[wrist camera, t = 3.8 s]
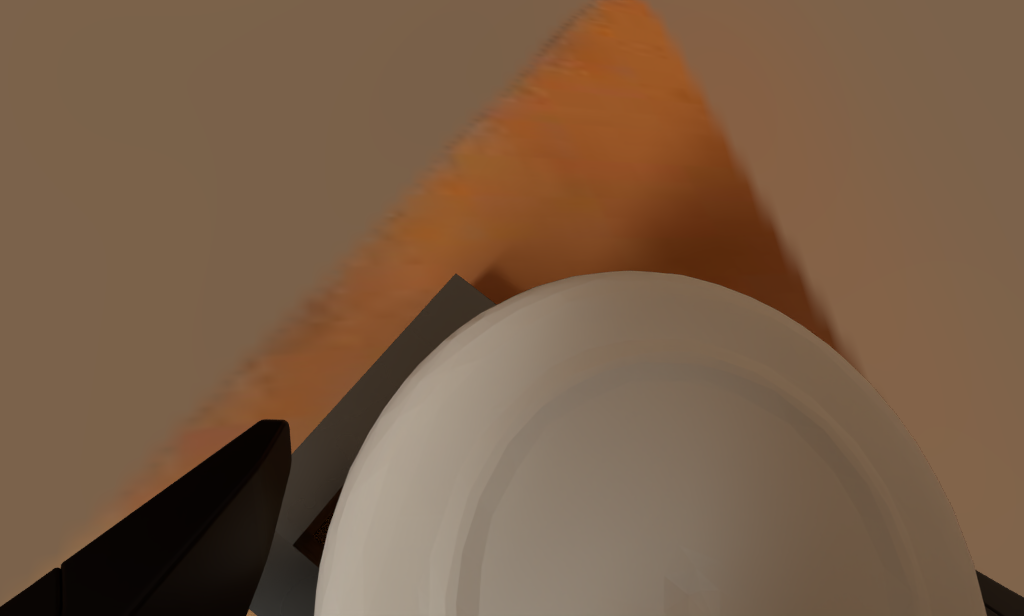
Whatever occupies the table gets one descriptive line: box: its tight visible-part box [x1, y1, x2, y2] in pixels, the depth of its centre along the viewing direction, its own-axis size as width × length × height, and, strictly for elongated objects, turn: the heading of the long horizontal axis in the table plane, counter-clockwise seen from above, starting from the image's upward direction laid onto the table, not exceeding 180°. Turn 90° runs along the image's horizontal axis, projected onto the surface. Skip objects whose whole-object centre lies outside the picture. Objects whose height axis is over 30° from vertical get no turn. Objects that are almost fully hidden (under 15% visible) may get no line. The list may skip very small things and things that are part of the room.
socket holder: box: [249, 274, 496, 616], centre depth 14 cm, size 10×10×2 cm
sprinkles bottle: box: [314, 271, 987, 616], centre depth 9 cm, size 5×5×14 cm
